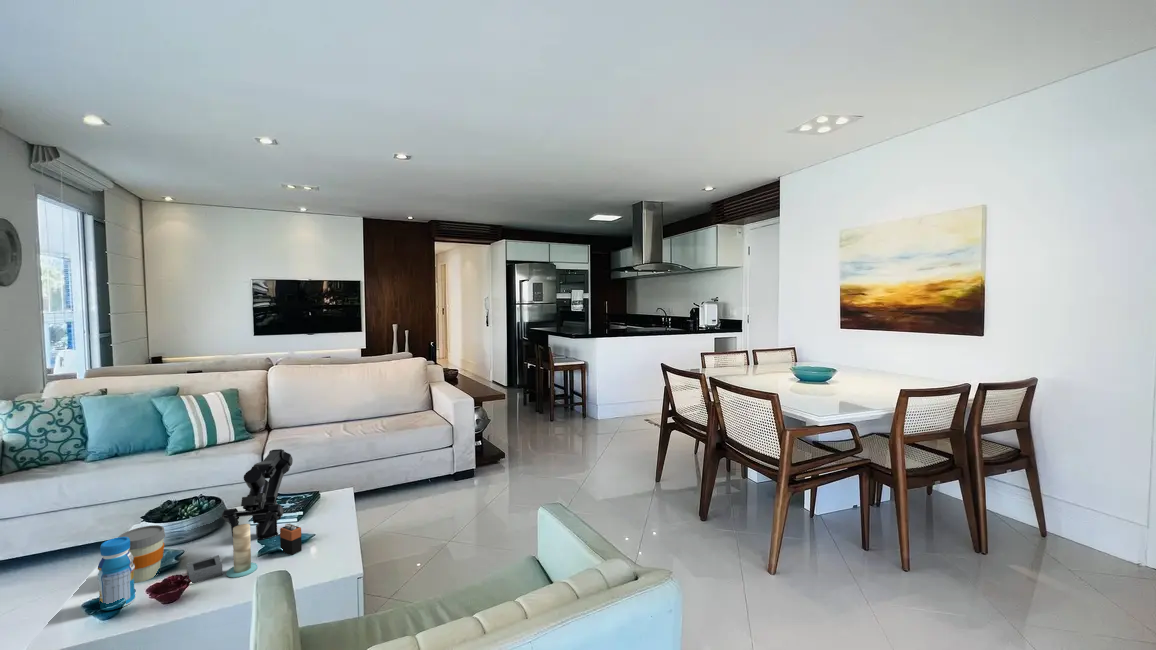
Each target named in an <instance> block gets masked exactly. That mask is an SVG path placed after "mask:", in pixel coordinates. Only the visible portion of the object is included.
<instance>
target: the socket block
mask: <svg viewBox="0 0 1156 650" xmlns="http://www.w3.org/2000/svg"><path fill="white" fill-rule="evenodd" d="M186 574H187V577H188V576H189V579H190V580H191V582H192V583H194V584H197V583H201V582H203V581H207V580H210V579H214V578H217V577H220V576H222V575H223V564H222V560H221V558H220V555H219V554H218V555H214V556H210V557H206V558H203V559H200V560H195V561H192V562H189V563H186Z"/></svg>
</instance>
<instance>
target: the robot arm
mask: <svg viewBox="0 0 1156 650" xmlns="http://www.w3.org/2000/svg"><path fill="white" fill-rule="evenodd" d="M292 465H293V456H292V454H291V453H289V452H286V451H285V450H284V449H282V448H281V449H279V448H277V449H271V450H269V453H268V454H267V456H266V457H265V458H264V459H263V460H262V461H259V462H256V463H254V465H253V466H251V468H250V470H247V471H246V472H245V473H244V475H243V481H244V483H245V484H246V486H247V487H248V488H249V493H248V494H247V496H242V497H241V504H240V507H242V509H243V510H239V511H238V509H237V507H235V508H234V507H233V508H225V509H224V510H223V511H222V513H221V518H222V519H223V521H225V522H226V523H228V524H229V525H230V529H231V538H233V528H234V527H235V526H238V525H239V523H240V522H239V519H240V517H250V516H251V517H252V521H253V524H256V525H255V536H256V537H257V538H258V539H262V540H264V539H263V538H265V539H269V538H272V536H273V537H276V536H278V535H279V532H278V521H279V520H281V519H282V517H283V516H284V508H283V507H282V505H281V504H280V503H278V502H277V497H278V493H279V491H280V487H281V484H282V480H283V477H284V475H285V474H287V473H288V472H289V471H290V469H291V466H292ZM267 479H268V480H267ZM275 535H276V536H275ZM268 537H269V538H268Z"/></svg>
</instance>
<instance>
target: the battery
mask: <svg viewBox="0 0 1156 650" xmlns="http://www.w3.org/2000/svg"><path fill="white" fill-rule="evenodd" d="M279 536H280V537H279V539H280V540H279V544H280V545H279V547H281V548H282V549H283V552H282V553H284V552H285V554H286V553H287V555H290V556H294V555H295V554H297V553H299V552H302V545H303V544H302V527H300V526H297V525H294V524H292V523H285V524H284V526H281V527H280V528H279Z"/></svg>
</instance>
